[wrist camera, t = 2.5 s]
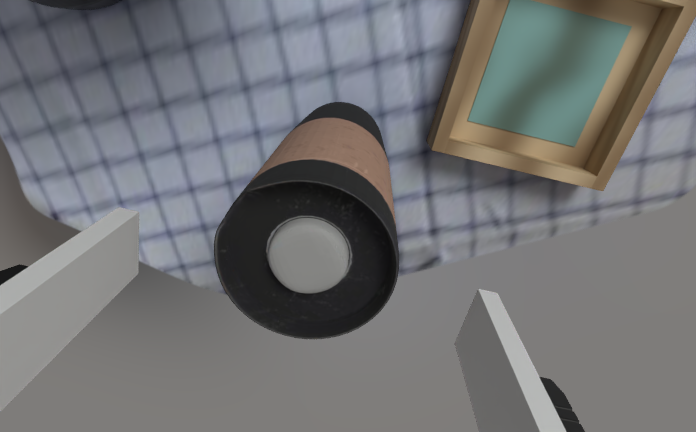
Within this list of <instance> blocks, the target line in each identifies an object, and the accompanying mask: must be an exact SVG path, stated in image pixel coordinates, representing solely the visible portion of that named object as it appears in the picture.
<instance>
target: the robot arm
mask: <svg viewBox="0 0 696 432" xmlns="http://www.w3.org/2000/svg"><path fill="white" fill-rule="evenodd" d="M30 1H32V2H35V3H39V4H42V5H46V6H51V7H57V8H66V9H76V10H92V9H99V8H103V7H107V6H110V5H112V4H115V3H117V2H119V1H121V0H30ZM138 257H139V212H137V211H133V210H128V209H124V208H119V207H118V208H117V209H115V210H114V211H112V212H111V213H109V214H108V215H106V216H105V217H103V218H102V219H100V220H99V221H97V222H96V223H94V224H93V225H91V226H90V227H88V228H87V229H85V230H84V231H82V232H80V233H79V234H77V235H76V236H74V237H73V238H72V239H70V240H68V241H67V242H65V243H64V244H62V245H61V246H60V247H58V248H56V249H55V250H53V251H52V252H50V253H49V254H47V255H46V256H44V257H43V258H41V259H40V260H38V261H37V262H35V263H34V264H32V265H31V266H29V267H28V266H24V265H17V266H14V267H11V268H8V269H5V270H2V271H0V411H2V409H4V408H5V407H6V405H7V404H8V403H9V402H10V401H11V400H12V399H13V398H14V397H15V396H16V395H17V394H18V393H19V392H20V391H21V390H22V389H23V388H24V387H25V386H26V385H27V384H28V383H29V382H30V381H31V380H32V379H33V378H34V377H35V376H36V375H37V374H38V373H39V372H40V371H41V370H42V369H43V368H44V367H45V366H46V365H47V364H48V363H49V362H50V361H51V360H52V359H53V358H54V357H55V356H56V355H57V354H58V353H59V352H60V351H61V350H62V349H63V348H64V347H65V346H66V345H67V344H68V343H69V342H70V341H71V340H72V339H73V338H74V337H75V336H76V335H77V334H78V333H79V332H80V331H81V330H82V329H83V328H84V327H85V326H86V325H87V324H88V323H89V322H90V321H91V320H92V319H93V318H94V317H95V316H96V315H97V314H98V313H99V312H100V311H101V310H102V309H103V308H104V307H105V306H106V305H107V304H108V303H109V302H110V301H111V300H112V299H113V298H114V297H115V296H116V295H117V294H118V293H119V292H120V291H121V290H122V289H123V288H124V287H125V286H126V285H127V284H128V283H129V282H130V281H131V280H132V279H133V278H134V277H135V276H136V275H137V274H138ZM455 346H456V350H457V354H458V357H459V361H460V364H461V368H462V371H463V375H464V379H465V382H466V386H467V390H468V393H469V397H470V401H471V404H472V408H473V411H474V415H475V419H476V422H477V426H478V429H479V432H585V431H584V429H583V427H582V426H581V424H579V420H578V418H577V416H576V415H575V413H574V412H573V411H572V407H571V405H570V404H569V402H568V400H567V398H566V396H565V395H564V393H563V392H562V391H561V390H560V389H559V388H558V387H557V386H556V384H555V383H554V382H553V381H552V380H551V379H547V378H542V377H539V376H538V374H537V372H536V370H535V368H534V366H533V364H532V362H531V360H530V358H529V356H528V354H527V352H526V350H525V348H524V346H523V344H522V342H521V340H520V338H519V336H518V334H517V332H516V330H515V328H514V326H513V324H512V322H511V320H510V318H509V316H508V314H507V312H506V310H505V308H504V306H503V304H502V302H501V300H500V298H499V296H498V294H497V293H494V292H490V291H486V290H482V289H478V291H477V293H476V295H475V297H474V300H473V302H472V304H471V307H470V309H469V311H468V314H467V316H466V318H465V320H464V323H463V325H462V327H461V330H460V332H459V334H458V337H457V339H456V341H455Z"/></svg>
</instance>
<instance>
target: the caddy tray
mask: <svg viewBox="0 0 696 432" xmlns="http://www.w3.org/2000/svg"><path fill="white" fill-rule="evenodd" d="M695 16H696V0H471V1H470V4H469V8H468V11H467V14H466V17H465V20H464V23H463V27H462V30H461V33H460V36H459V39H458V43H457V46H456V49H455V52H454V55H453V58H452V62H451V65H450V68H449V71H448V74H447V78H446V81H445V84H444V87H443V90H442V93H441V97H440V100H439V103H438V106H437V109H436V112H435V116H434V119H433V122H432V125H431V128H430V132H429V135H428V138H427V143H428V145H429V146H430V148H431V150H433V151H437V152H441V153H446V154H450V155H454V156H458V157H462V158H466V159H471V160H475V161H479V162H483V163H487V164H491V165H496V166H500V167H504V168H508V169H512V170H516V171H521V172H525V173H529V174H533V175H537V176H541V177H546V178H550V179H554V180H558V181H562V182H566V183H571V184H575V185H579V186H583V187H587V188H591V189H596V190H600V191H603V190H604V189H605V187H606V185H607V183H608V181H609V179H610V177H611V175H612V173H613V172H614V170H615V168H616V166H617V164H618V162H619V160H620V158H621V156H622V155H623V153H624V151H625V149H626V147H627V145H628V143H629V141H630V139H631V137H632V136H633V134H634V132H635V130H636V128H637V126H638V124H639V122H640V120H641V119H642V117H643V115H644V113H645V111H646V109H647V107H648V105H649V103H650V102H651V100H652V98H653V96H654V94H655V92H656V90H657V88H658V86H659V85H660V83H661V81H662V79H663V77H664V75H665V73H666V71H667V69H668V68H669V66H670V64H671V62H672V60H673V58H674V56H675V54H676V52H677V51H678V49H679V47H680V45H681V43H682V41H683V39H684V37H685V35H686V33H687V32H688V30H689V28H690V26H691V24H692V22H693V20H694V18H695Z"/></svg>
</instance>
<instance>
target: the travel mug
mask: <svg viewBox="0 0 696 432" xmlns="http://www.w3.org/2000/svg"><path fill="white" fill-rule="evenodd" d="M214 257H215V264H216V269H217V273H218V276H219V279H220V282H221V284H222V286H223V288H224V290H225V292H226V293H227V295H228V296H229V298H230V299H231V301H232V302H233V303H234V304H235V305H236V306H237V307H238V309H239V310H241V311H242V312H243V313H244V314H245V315H246V316H247V317H249V318H250V319H251V320H253V321H254V322H256V323H257V324H259V325H261V326H263V327H264V328H267V329H269V330H271V331H273V332H276V333H279V334H282V335H285V336H290V337H294V338H302V339H324V338H331V337H336V336H340V335H343V334H346V333H349V332H351V331H353V330H356V329H358V328H359V327H361V326H363V325H364V324H366V323H368V322H369V321H370V320H371V319H373V318H374V317H375V316H376V315H377V314H378V313H379V312H380V311H381V310H382V309H383V307H384V306H385V304H386V303H387V302H388V300H389V298H390V296H391V295H392V293H393V290H394V287H395V285H396V282H397V277H398V271H399V250H398V241H397V232H396V223H395V215H394V206H393V197H392V188H391V179H390V170H389V164H388V160H387V156H386V152H385V148H384V144H383V140H382V137H381V133H380V130H379V128H378V126H377V124H376V122H375V121H374V119H373V118H372V117H371V116H370V115H369V114H368V113H367V112H366V111H365V110H363V109H362V108H360V107H358V106H356V105H353V104H350V103H344V102H334V103H329V104H326V105H323V106H321V107H319V108H317V109H316V110H314V111H313V112H312V113H311V114H309V115H308V116H307V117H306V118H305V119H304V120H303V121H302V122H301V123H300V124H299V125H298V126H296V127H295V128H294V129H293V130H292V131H291V132H290V133H289V134H288V135H287V136H286V138H285V139H284V140H283V141H282V142H281V144H280V145H279V146H278V147H277V149H276V150H275V151H274V153H273V154H272V155H271V156H270V158H269V159H268V160H267V161H266V163H265V164H264V165H263V166H262V168H261V169H260V170H259V171H258V173H257V174H256V175H255V177H254V178H253V179H252V180H251V182H250V183H249V184H248V185H247V187H246V188H245V189H244V190H243V192H242V193H241V194H240V195H239V197H238V198H237V199H236V201H235V202H234V203H233V205H232V206H231V208H230V209H229V211H228V212H227V214H226V216H225V218H224V219H223V221H222V222H221V224H220V225H219V227H218V229H217V231H216V235H215V240H214Z"/></svg>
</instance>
